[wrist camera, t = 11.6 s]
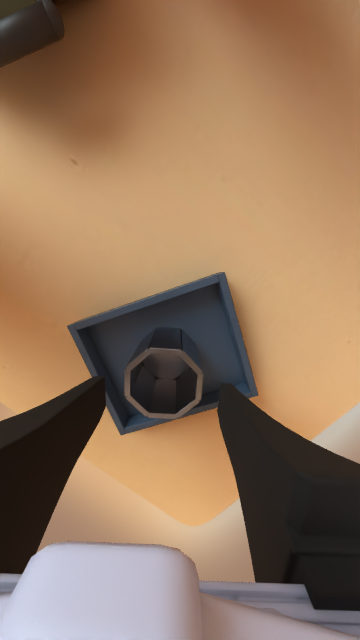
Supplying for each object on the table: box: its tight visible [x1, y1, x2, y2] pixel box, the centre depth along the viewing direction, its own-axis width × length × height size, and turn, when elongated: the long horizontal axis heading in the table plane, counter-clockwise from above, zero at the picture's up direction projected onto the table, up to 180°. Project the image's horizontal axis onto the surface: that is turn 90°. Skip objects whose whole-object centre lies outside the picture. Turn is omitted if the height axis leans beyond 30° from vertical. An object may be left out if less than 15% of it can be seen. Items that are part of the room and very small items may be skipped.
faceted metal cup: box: [124, 327, 204, 419], centre depth 15 cm, size 5×5×5 cm
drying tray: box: [67, 272, 258, 435], centre depth 17 cm, size 13×11×2 cm
